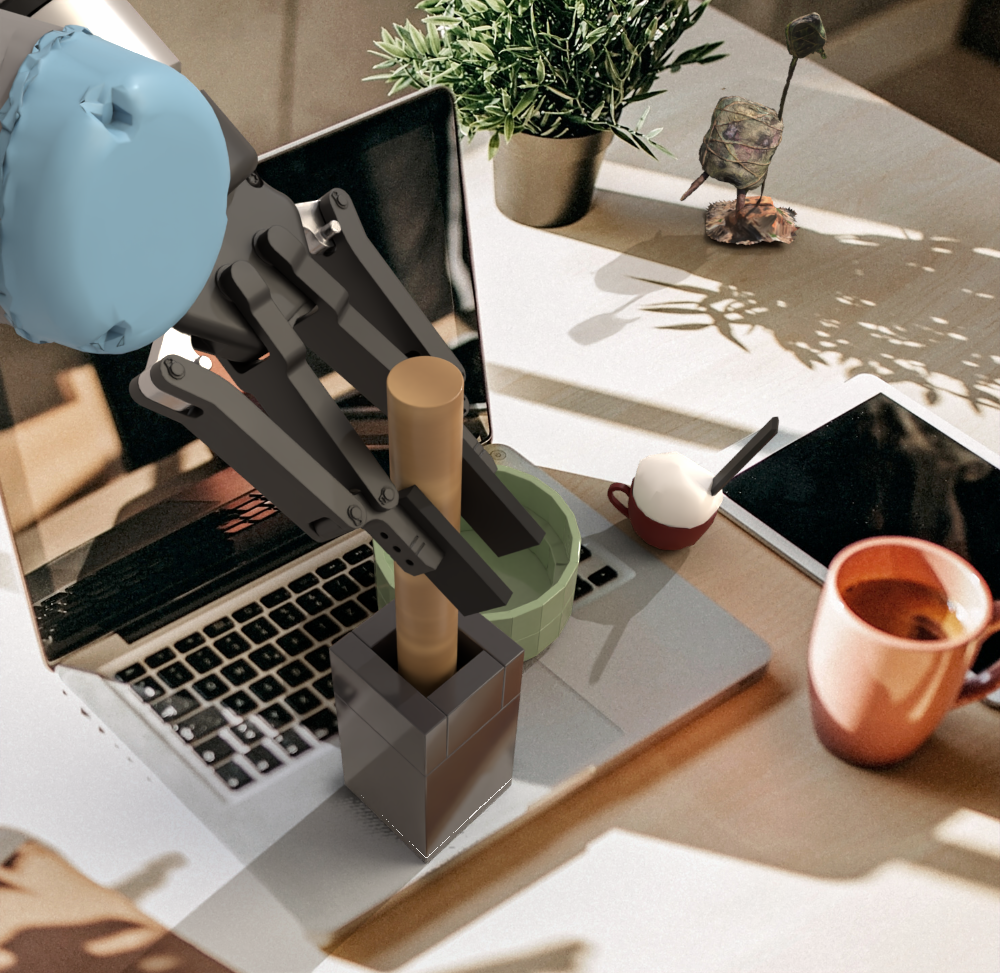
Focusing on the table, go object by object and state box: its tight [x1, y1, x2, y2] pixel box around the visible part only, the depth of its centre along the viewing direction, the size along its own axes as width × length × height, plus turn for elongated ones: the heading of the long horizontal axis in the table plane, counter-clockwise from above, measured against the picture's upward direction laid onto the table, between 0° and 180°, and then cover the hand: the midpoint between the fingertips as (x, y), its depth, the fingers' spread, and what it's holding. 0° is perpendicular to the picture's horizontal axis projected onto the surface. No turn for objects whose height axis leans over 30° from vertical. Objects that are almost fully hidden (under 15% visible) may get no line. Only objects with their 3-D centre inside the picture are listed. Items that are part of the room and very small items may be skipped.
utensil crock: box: [328, 599, 525, 865], centre depth 63 cm, size 7×7×14 cm
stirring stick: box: [386, 356, 465, 698], centre depth 52 cm, size 3×3×22 cm
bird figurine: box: [679, 11, 828, 246], centre depth 101 cm, size 8×11×20 cm
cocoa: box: [606, 416, 780, 551], centre depth 78 cm, size 10×6×12 cm, turn 54°
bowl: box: [371, 463, 582, 662], centre depth 75 cm, size 13×13×6 cm
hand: (504, 573), depth 51 cm, fingers closed on stirring stick, 3 cm apart
